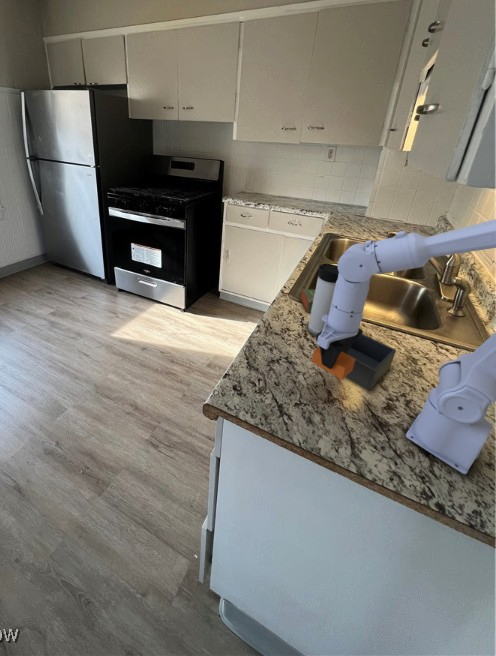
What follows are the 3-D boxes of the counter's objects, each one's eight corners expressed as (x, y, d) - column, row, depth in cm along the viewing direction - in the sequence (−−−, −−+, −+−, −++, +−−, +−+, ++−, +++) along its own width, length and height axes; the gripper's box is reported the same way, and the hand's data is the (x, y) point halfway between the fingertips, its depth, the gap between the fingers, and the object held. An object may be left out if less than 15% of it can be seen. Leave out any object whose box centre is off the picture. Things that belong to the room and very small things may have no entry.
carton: (358, 314, 97) (361, 303, 95) (306, 312, 98) (308, 301, 96) (348, 301, 105) (351, 289, 103) (300, 299, 105) (302, 287, 103)
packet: (352, 370, 66) (355, 358, 64) (342, 380, 63) (345, 368, 62) (322, 353, 70) (324, 342, 69) (311, 361, 68) (313, 350, 66)
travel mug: (305, 322, 93) (317, 260, 84) (328, 324, 92) (342, 262, 83) (308, 335, 87) (321, 270, 78) (332, 337, 86) (349, 272, 78)
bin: (389, 368, 76) (396, 349, 74) (369, 390, 69) (376, 371, 67) (338, 341, 85) (343, 324, 82) (316, 359, 78) (320, 341, 76)
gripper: (345, 286, 67) (332, 337, 73) (308, 309, 58) (297, 365, 64) (379, 299, 62) (362, 353, 68) (344, 326, 54) (328, 385, 59)
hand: (333, 360), depth 66 cm, fingers closed on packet, 4 cm apart
